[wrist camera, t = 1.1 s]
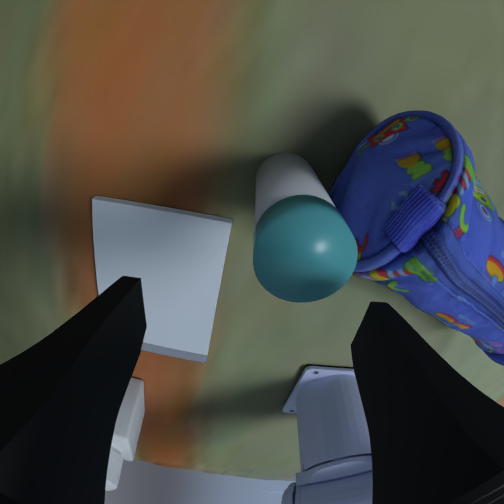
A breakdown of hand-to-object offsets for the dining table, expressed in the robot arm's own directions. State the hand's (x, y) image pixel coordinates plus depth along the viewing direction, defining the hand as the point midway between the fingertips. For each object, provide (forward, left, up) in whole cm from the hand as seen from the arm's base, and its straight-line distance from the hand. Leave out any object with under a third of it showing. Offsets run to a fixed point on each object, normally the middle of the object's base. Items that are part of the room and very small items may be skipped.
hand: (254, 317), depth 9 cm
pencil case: (-14, 0, -10) cm, 18 cm away
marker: (-1, -1, -10) cm, 10 cm away
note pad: (+6, +8, -10) cm, 14 cm away
